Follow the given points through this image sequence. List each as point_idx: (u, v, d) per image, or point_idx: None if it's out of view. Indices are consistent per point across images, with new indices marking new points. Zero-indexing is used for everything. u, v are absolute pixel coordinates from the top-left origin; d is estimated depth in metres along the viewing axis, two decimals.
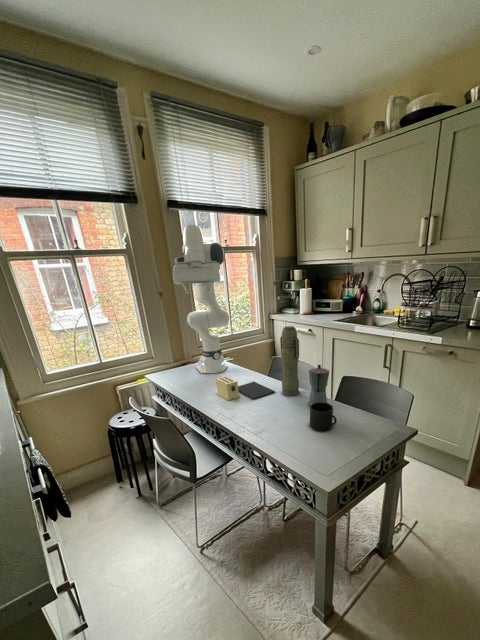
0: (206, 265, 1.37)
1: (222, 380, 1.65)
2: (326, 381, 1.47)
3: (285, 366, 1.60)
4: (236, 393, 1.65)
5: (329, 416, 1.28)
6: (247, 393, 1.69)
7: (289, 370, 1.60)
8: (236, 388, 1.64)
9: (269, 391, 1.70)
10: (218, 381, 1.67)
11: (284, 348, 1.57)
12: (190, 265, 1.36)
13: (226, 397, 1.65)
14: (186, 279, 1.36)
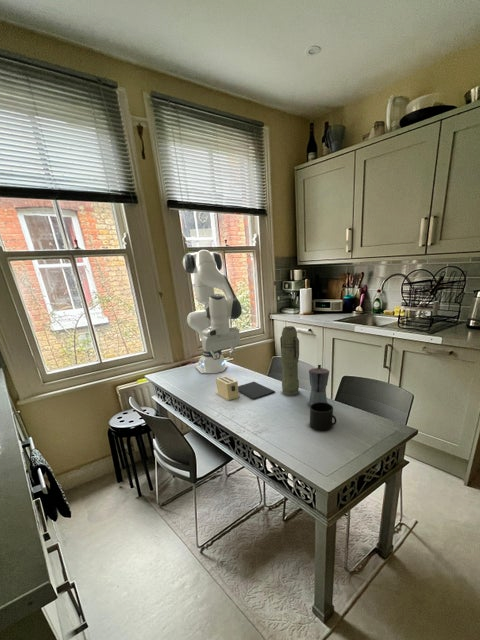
0: (231, 334, 1.57)
1: (222, 380, 1.65)
2: (326, 381, 1.47)
3: (285, 366, 1.60)
4: (236, 393, 1.65)
5: (329, 416, 1.28)
6: (247, 393, 1.69)
7: (289, 370, 1.60)
8: (236, 388, 1.64)
9: (269, 391, 1.70)
10: (218, 381, 1.67)
11: (284, 348, 1.57)
12: (219, 336, 1.53)
13: (226, 397, 1.65)
14: (216, 348, 1.55)
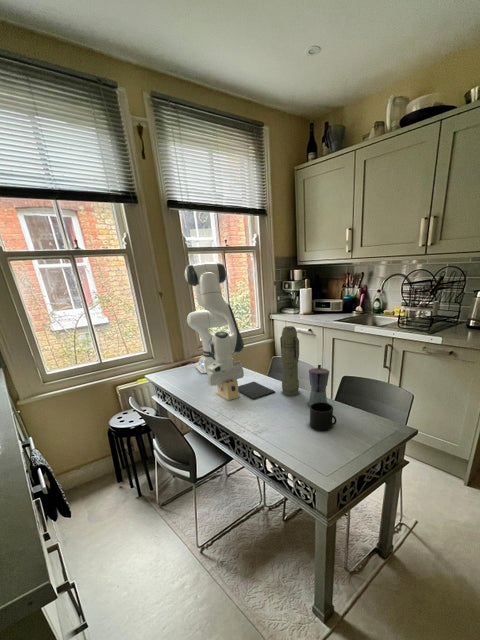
0: (234, 368, 1.65)
1: None
2: (326, 381, 1.47)
3: (285, 366, 1.60)
4: (236, 393, 1.65)
5: (329, 416, 1.28)
6: (247, 393, 1.69)
7: (289, 370, 1.60)
8: (236, 388, 1.64)
9: (269, 391, 1.70)
10: None
11: (284, 348, 1.57)
12: (223, 371, 1.61)
13: (226, 397, 1.65)
14: (220, 382, 1.63)
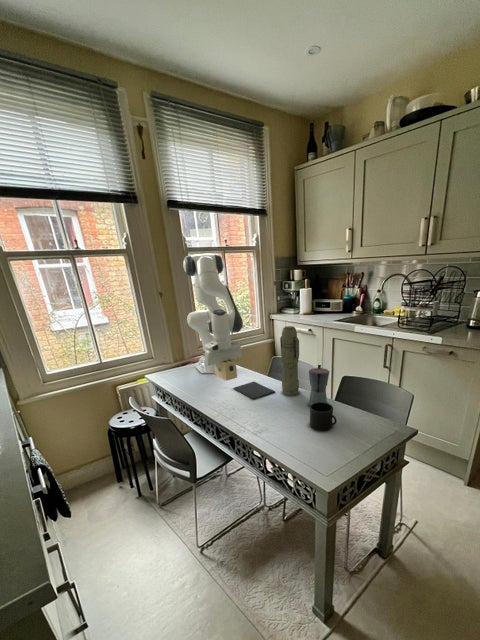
0: (232, 347, 1.61)
1: None
2: (326, 381, 1.47)
3: (285, 366, 1.60)
4: (234, 373, 1.61)
5: (329, 416, 1.28)
6: (247, 393, 1.69)
7: (289, 370, 1.60)
8: (234, 368, 1.60)
9: (269, 391, 1.70)
10: None
11: (284, 348, 1.57)
12: (221, 350, 1.57)
13: (224, 377, 1.61)
14: (218, 362, 1.58)
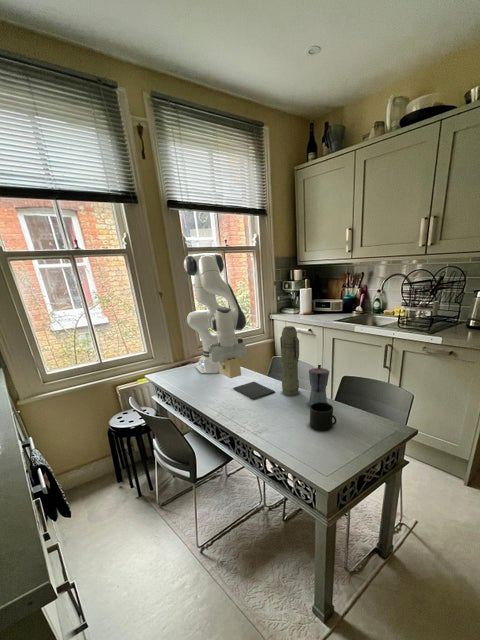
0: None
1: None
2: (326, 381, 1.47)
3: (285, 366, 1.60)
4: None
5: (329, 416, 1.28)
6: (247, 393, 1.69)
7: (289, 370, 1.60)
8: None
9: (269, 391, 1.70)
10: None
11: (284, 348, 1.57)
12: None
13: None
14: None
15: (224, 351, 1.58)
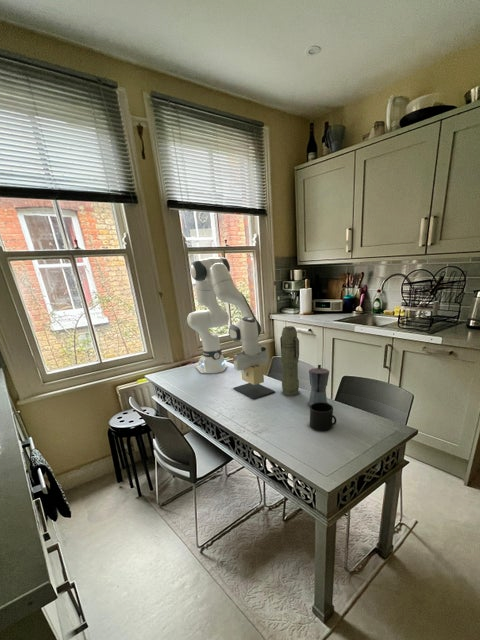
0: None
1: None
2: (326, 381, 1.47)
3: (285, 366, 1.60)
4: None
5: (329, 416, 1.28)
6: (247, 393, 1.69)
7: (289, 370, 1.60)
8: None
9: (269, 391, 1.70)
10: None
11: (284, 348, 1.57)
12: None
13: None
14: None
15: (248, 359, 1.64)
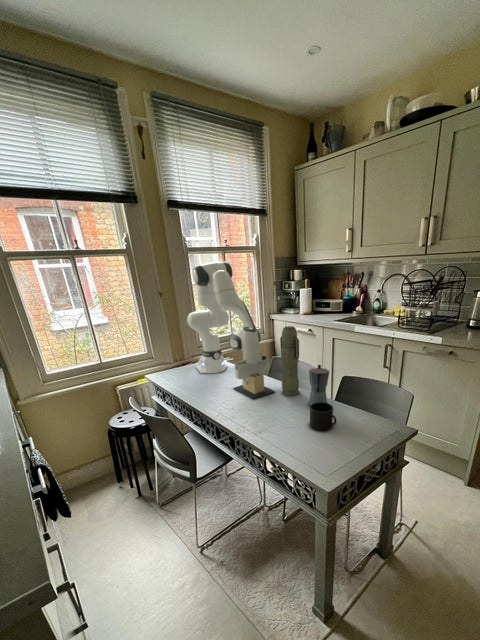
0: None
1: None
2: (326, 381, 1.47)
3: (285, 366, 1.60)
4: None
5: (329, 416, 1.28)
6: (247, 393, 1.69)
7: (289, 370, 1.60)
8: None
9: (269, 391, 1.70)
10: None
11: (284, 348, 1.57)
12: None
13: None
14: None
15: (249, 368, 1.66)
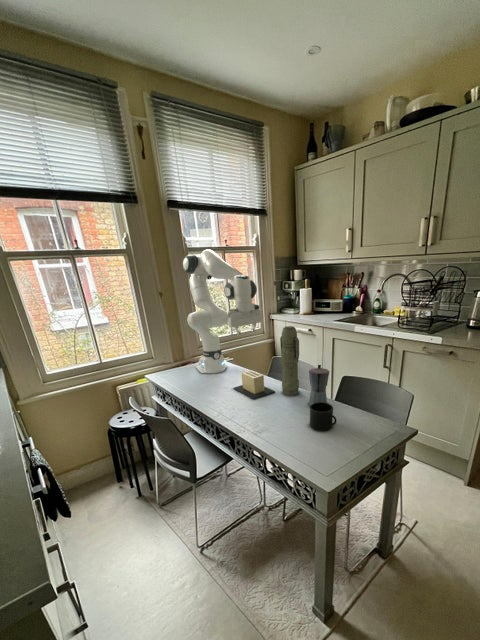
0: None
1: (256, 373, 1.71)
2: (326, 381, 1.47)
3: (285, 366, 1.60)
4: None
5: (329, 416, 1.28)
6: (247, 393, 1.69)
7: (289, 370, 1.60)
8: None
9: (269, 391, 1.70)
10: None
11: (284, 348, 1.57)
12: None
13: None
14: None
15: (242, 316, 1.69)
